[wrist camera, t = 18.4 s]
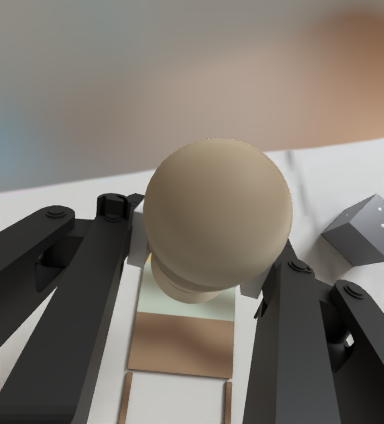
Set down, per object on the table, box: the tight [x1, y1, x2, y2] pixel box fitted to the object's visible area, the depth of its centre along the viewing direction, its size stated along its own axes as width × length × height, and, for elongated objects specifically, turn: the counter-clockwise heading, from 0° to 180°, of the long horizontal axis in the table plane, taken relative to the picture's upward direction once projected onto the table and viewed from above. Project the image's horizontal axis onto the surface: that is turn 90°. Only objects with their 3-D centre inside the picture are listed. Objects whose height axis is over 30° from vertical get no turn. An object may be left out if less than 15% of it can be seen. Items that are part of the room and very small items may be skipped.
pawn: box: [143, 138, 293, 304], centre depth 12 cm, size 6×6×14 cm
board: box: [119, 253, 236, 424], centre depth 29 cm, size 25×12×1 cm, turn 174°
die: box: [321, 194, 384, 266], centre depth 32 cm, size 6×6×6 cm
